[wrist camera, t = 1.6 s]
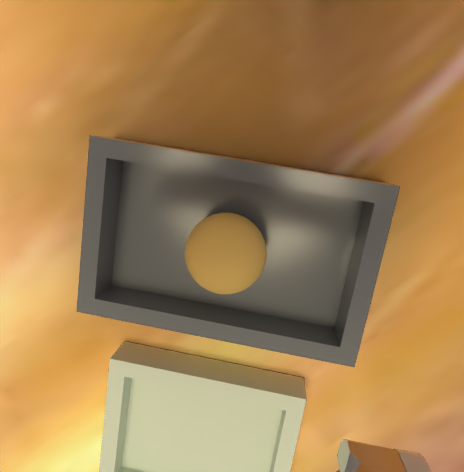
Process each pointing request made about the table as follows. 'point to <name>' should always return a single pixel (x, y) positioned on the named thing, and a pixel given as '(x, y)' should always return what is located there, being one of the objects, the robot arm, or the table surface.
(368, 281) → the dish
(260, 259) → the ball
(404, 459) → the robot arm
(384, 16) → the table surface
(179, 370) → the tray
